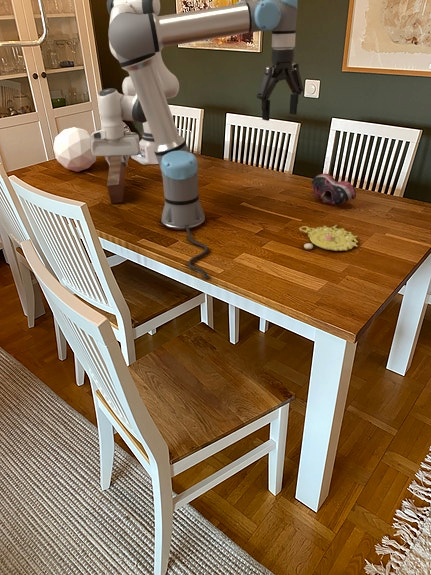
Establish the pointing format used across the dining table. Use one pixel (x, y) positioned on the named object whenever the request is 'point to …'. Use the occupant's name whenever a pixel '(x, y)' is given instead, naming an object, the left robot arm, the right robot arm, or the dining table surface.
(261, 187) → the dining table surface
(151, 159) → the left robot arm
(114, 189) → the bar
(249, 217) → the dining table surface
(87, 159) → the sphere
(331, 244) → the decorative object
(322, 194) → the athletic shoe
